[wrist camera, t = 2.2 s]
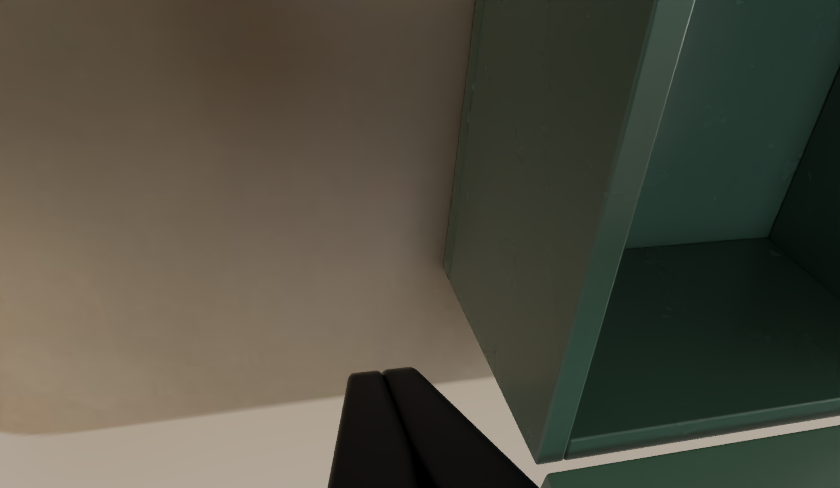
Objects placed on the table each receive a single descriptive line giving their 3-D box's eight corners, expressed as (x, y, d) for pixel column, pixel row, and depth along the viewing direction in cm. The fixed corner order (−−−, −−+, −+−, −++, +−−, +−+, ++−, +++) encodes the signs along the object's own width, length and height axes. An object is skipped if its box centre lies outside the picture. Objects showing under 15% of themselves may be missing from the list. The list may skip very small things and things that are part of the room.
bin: (495, -172, 18) (687, -120, 11) (922, -138, 21) (1276, -83, 14) (442, 268, 25) (535, 466, 18) (765, 241, 29) (946, 399, 22)
